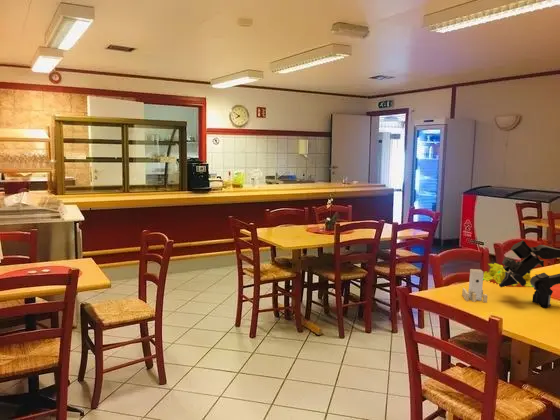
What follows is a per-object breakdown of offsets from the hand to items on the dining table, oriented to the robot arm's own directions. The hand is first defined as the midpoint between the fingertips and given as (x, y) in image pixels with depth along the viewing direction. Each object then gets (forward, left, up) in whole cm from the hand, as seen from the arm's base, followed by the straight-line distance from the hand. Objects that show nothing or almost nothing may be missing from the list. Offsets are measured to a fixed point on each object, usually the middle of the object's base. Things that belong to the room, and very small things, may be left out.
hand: (499, 286), depth 223 cm
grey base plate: (+6, +4, -8) cm, 11 cm away
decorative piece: (+12, -45, -8) cm, 48 cm away
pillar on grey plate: (+9, +6, -7) cm, 13 cm away
